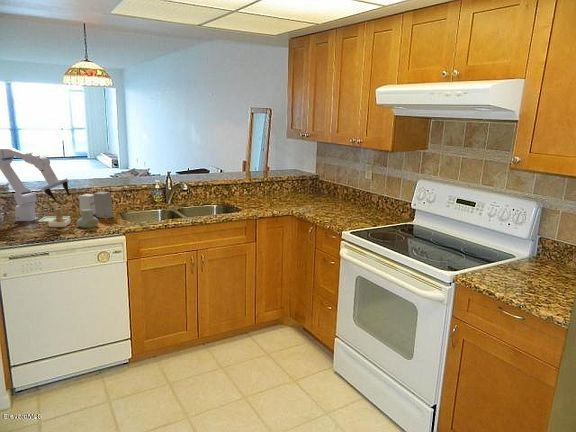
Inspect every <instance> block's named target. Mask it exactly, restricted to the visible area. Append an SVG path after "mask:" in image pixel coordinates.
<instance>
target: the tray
mask: <svg viewBox="0 0 576 432" xmlns="http://www.w3.org/2000/svg"><path fill="white" fill-rule="evenodd" d="M62 217H63V219H71V215H62ZM53 219H56V215H48V216H47V215H45V216H44V217H42V218H40V219H39V220H37V221H36V222H37V223H48V222H50V221H51V220H53Z"/></svg>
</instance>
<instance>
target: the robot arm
mask: <svg viewBox="0 0 576 432" xmlns="http://www.w3.org/2000/svg"><path fill="white" fill-rule="evenodd" d="M14 158H18V159H22V160H23V161H24V162H25V163H27V164H30V165H33V166H34V167H35V168H36V169H37V170H38V171H40V172H41V175H42V176H43V178H44V180H45V181H46V184H47V185H46V186H44V187H41V188H40V190H41V192H42V193H45V194H46V195H47V196H49V197H50V198H51V199H52V200H53V201H54V202H56V201H57V199H56V197H55V196H54V194H53V192H52V190H51V189H53V188H56V187H58V186H61V185H62V187H63V189H64V190H65V192H66V195H67V196H69V197H70V195H71V193H70V191H69V184H68V183H69V179H68V178H64V179H60V180H59V179H58V177H57V175H56V174H55V171H54V169H52V167H51V165H50V164H51V160H50V159H49V158H48V157H47V156H40V155H39V154H35V153H33V152H32V151H31V152H23V151H21V150H18V149H17V148H15V147H12V146H8V147H7V146H6V147H0V171H1V172H2V174H3V176H4V177H5V178H6V181H7V182H8V183H9V185H10V186H11V187H12V189H13V190H14V192H15V193H14V194H13V198H14V199H15V203H16V204H17V205H15V207H14V212H15V213H14V216H15V222H31V221H35V220H37V219H38V218H39V217H38V216H37V217H36V212H35V211H36V210H35V209H36V208H35V204H36V202H37V201H38V199H37V197H38V196H37V195H36V194H35V192H33V191H32V189H29V188H27V187H26V186H25V185H24V184H23V182H22V181H21V179H20V178H19V176H18V175H17V173H16V171H15V170H14V168H13V167H12V166H11V163H12V162H13V160H14Z"/></svg>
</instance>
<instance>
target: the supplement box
mask: <svg viewBox="0 0 576 432" xmlns="http://www.w3.org/2000/svg"><path fill="white" fill-rule="evenodd" d="M78 201H79V202H78V203H79V213H80V214H79V216H81V210H82V209H92V210H93V216H95V215H96V210H95V203H94V196H93V194H92V193H85V194H80V195H78Z"/></svg>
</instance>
